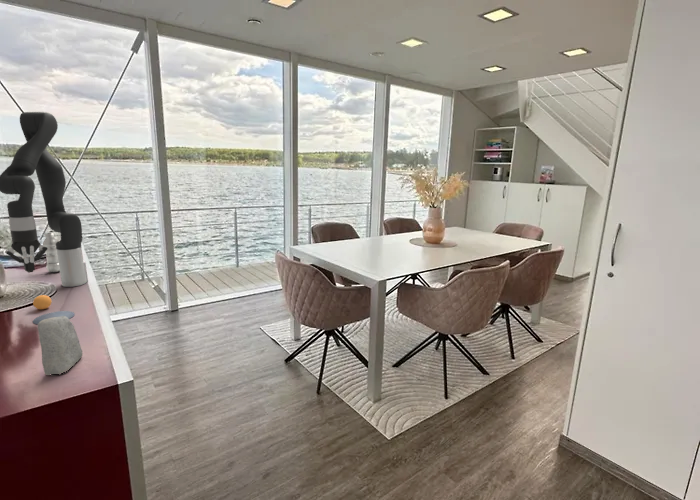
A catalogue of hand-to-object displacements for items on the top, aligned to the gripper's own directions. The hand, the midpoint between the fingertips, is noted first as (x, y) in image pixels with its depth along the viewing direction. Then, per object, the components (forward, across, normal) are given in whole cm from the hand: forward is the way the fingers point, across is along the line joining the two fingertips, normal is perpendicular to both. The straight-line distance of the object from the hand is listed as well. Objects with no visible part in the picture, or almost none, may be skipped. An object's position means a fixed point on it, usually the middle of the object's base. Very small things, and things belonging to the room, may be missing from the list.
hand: (30, 271), depth 146 cm
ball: (+10, 0, -10) cm, 14 cm away
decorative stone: (+14, -8, -64) cm, 66 cm away
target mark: (+13, 0, -22) cm, 26 cm away
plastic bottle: (+13, +18, +46) cm, 51 cm away
